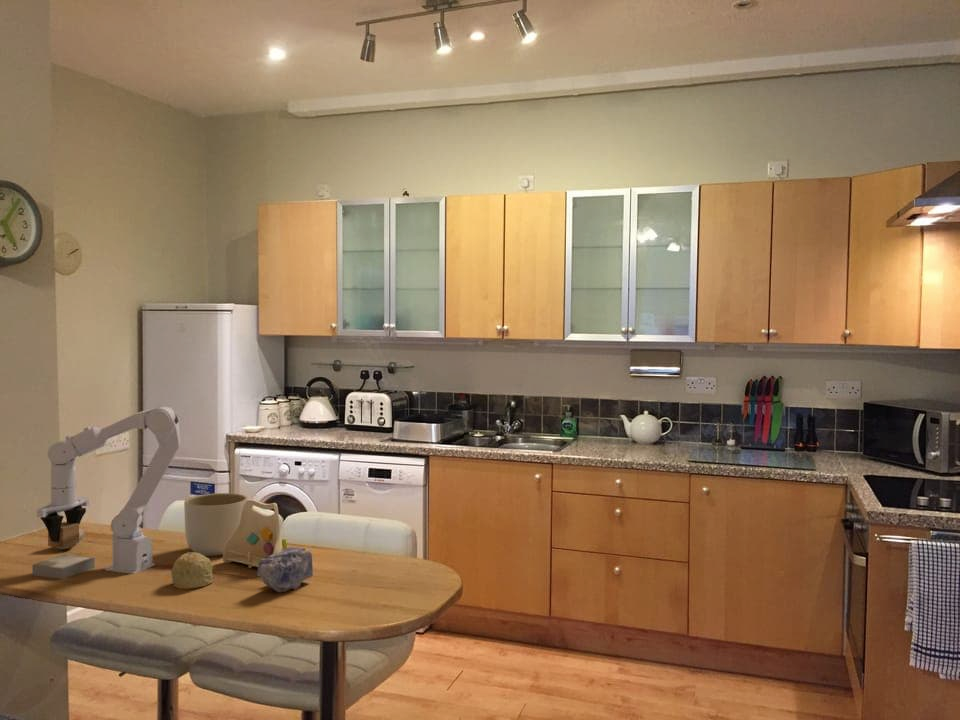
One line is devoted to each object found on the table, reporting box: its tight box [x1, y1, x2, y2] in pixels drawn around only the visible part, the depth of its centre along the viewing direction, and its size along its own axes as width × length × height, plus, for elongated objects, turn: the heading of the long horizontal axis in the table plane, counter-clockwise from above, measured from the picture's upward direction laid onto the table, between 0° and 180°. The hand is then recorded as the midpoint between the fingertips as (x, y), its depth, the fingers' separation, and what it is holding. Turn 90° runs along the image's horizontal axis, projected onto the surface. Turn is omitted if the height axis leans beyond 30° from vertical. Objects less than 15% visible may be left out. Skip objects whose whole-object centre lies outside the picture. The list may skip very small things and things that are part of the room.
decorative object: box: [170, 551, 214, 590], centre depth 185 cm, size 9×10×10 cm
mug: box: [56, 527, 85, 550], centre depth 217 cm, size 8×10×10 cm
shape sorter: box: [222, 499, 288, 569], centre depth 202 cm, size 20×10×18 cm, turn 58°
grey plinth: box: [31, 553, 96, 580], centre depth 195 cm, size 10×10×3 cm
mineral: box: [256, 546, 314, 593], centre depth 182 cm, size 14×10×10 cm, turn 157°
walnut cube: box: [47, 521, 80, 548], centre depth 195 cm, size 5×5×5 cm
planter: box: [183, 492, 248, 557], centre depth 215 cm, size 17×17×15 cm
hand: (63, 538), depth 195 cm, fingers closed on walnut cube, 5 cm apart
